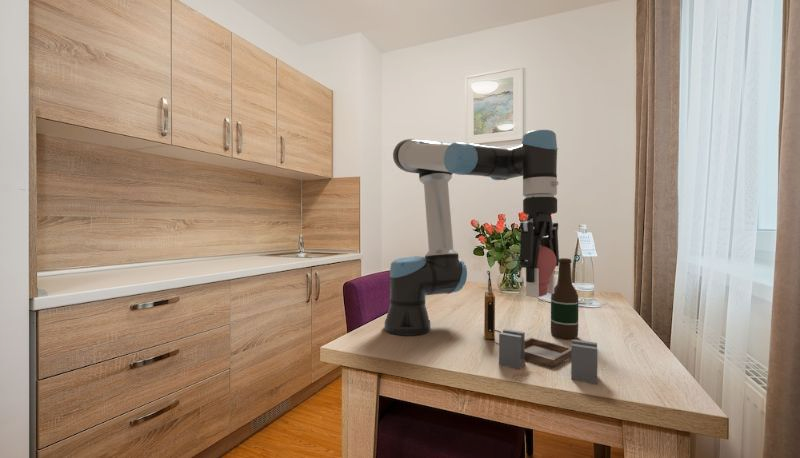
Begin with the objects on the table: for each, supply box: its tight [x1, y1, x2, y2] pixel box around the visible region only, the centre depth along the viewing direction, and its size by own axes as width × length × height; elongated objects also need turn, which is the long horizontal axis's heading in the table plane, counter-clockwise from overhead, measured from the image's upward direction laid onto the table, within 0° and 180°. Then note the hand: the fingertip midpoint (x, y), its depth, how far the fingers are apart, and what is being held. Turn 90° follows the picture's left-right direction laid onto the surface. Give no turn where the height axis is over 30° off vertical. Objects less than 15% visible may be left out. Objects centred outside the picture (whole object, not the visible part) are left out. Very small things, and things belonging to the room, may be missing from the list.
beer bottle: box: [550, 257, 579, 340], centre depth 108 cm, size 8×8×24 cm
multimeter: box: [483, 270, 502, 345], centre depth 106 cm, size 15×10×20 cm
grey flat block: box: [570, 339, 598, 385], centre depth 78 cm, size 5×5×8 cm
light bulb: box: [536, 246, 557, 298], centre depth 82 cm, size 7×7×12 cm
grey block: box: [498, 328, 526, 370], centre depth 86 cm, size 5×5×8 cm
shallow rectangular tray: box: [524, 337, 572, 369], centre depth 92 cm, size 12×12×2 cm
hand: (540, 294), depth 82 cm, fingers closed on light bulb, 7 cm apart
